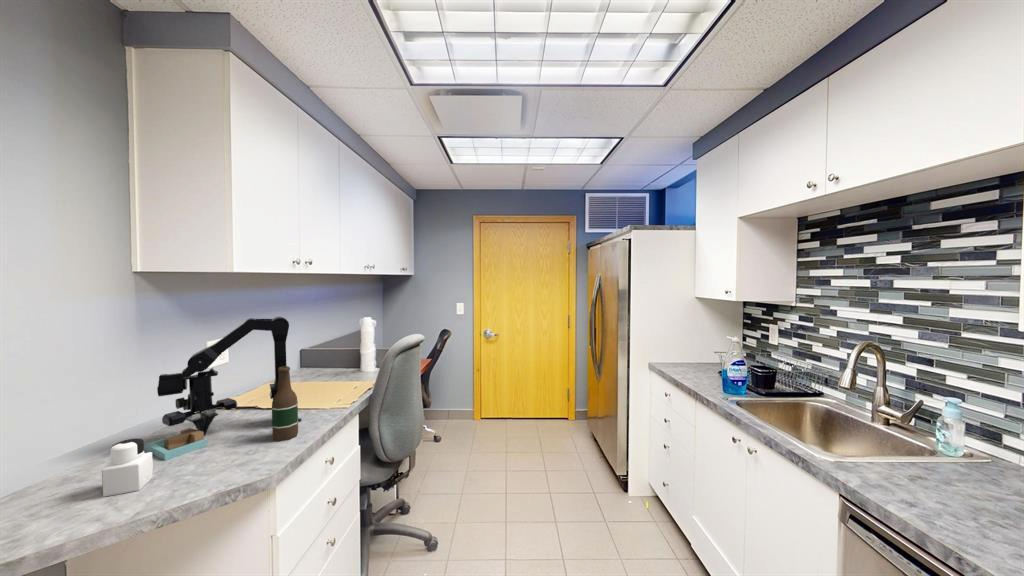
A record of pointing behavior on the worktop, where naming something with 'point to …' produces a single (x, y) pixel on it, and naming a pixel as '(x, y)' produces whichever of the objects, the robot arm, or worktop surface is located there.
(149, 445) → the jig
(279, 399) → the beer bottle
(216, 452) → the worktop surface
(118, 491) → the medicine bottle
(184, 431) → the t block
